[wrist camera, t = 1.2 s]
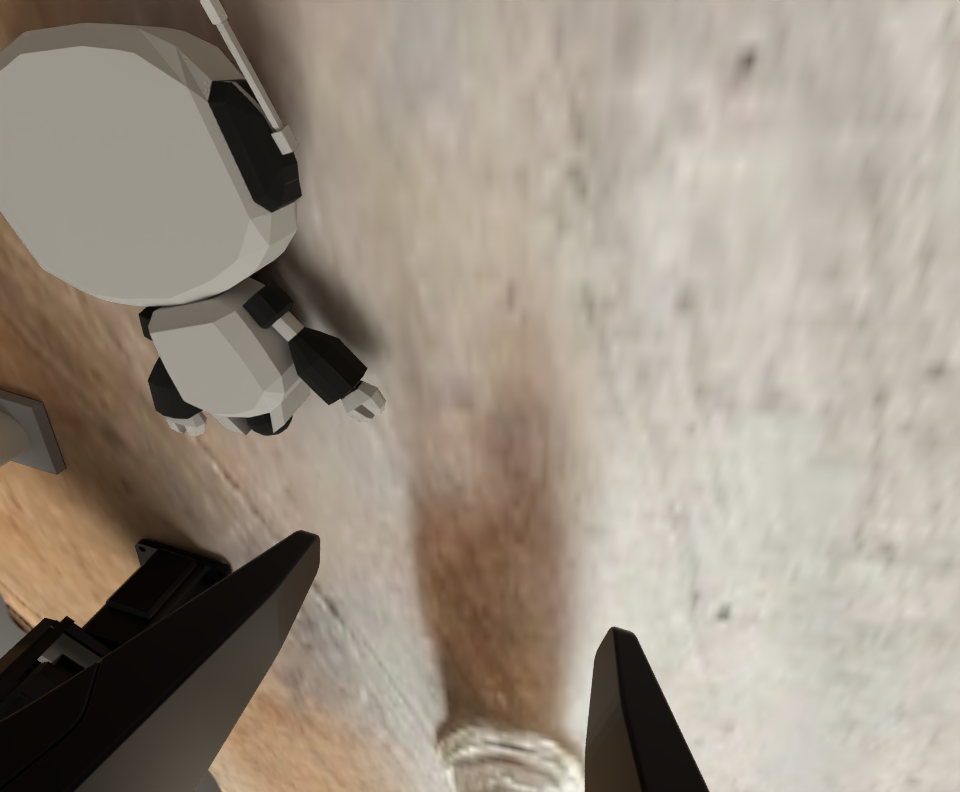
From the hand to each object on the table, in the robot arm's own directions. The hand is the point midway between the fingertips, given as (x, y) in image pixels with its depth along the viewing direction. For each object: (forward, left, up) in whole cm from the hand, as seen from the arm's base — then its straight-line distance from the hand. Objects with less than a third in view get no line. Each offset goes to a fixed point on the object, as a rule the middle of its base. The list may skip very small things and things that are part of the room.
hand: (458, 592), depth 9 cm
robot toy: (0, +13, -12) cm, 18 cm away
